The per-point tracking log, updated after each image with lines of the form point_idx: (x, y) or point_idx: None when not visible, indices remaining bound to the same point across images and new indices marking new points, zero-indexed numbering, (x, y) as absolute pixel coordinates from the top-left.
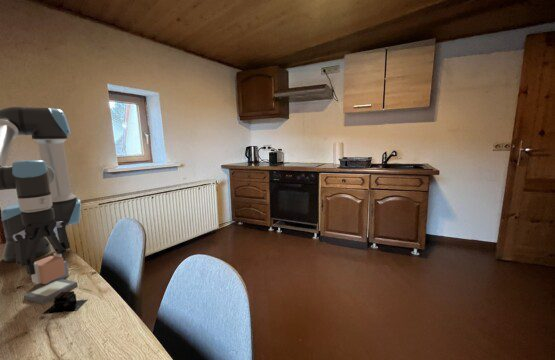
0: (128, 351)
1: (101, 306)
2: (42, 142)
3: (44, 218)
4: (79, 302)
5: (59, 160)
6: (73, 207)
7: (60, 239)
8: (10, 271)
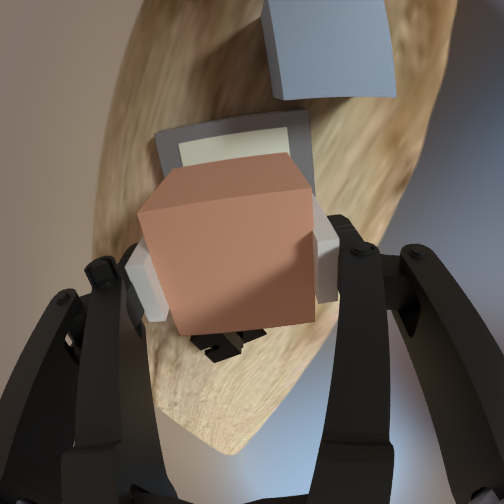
0: (213, 444)
1: (260, 376)
2: None
3: None
4: (245, 332)
5: None
6: None
7: (435, 343)
8: None
